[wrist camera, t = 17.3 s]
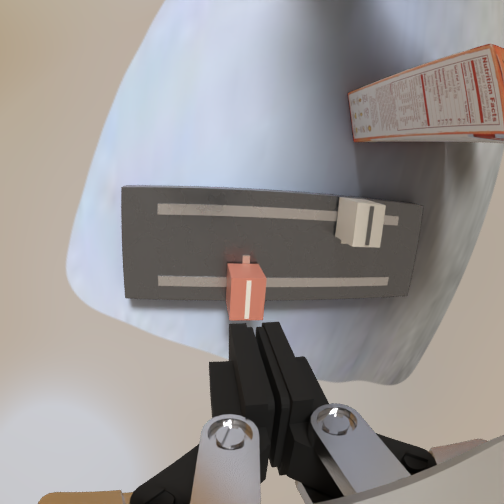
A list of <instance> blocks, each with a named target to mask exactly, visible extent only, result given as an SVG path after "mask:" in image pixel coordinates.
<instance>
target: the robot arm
mask: <svg viewBox="0 0 504 504" xmlns="http://www.w3.org/2000/svg"><path fill="white" fill-rule="evenodd" d="M209 375H210V393H211V408H212V419H211V420H209V421H208V422H207V423H206V424H205V425H204V427H203V429H202V431H201V438H200V444H198V445H197V446H196V447H195V448H193V449H192V450H191V451H189V452H188V453H186V454H185V455H184V456H182V457H181V458H180V459H178V460H177V461H176V462H174V463H173V464H171V465H170V466H169V467H167V468H166V469H164V470H163V471H161V472H160V473H159V474H157V475H156V476H154V477H153V478H151V479H150V480H148V481H147V482H145V483H144V484H142V485H141V486H139V487H138V488H137V489H136V490H135V491H134V492H129V493H122V492H121V490H116V491H99V492H54V493H49V494H47V495H45V496H44V497H42V498H41V500H40V501H39V502H38V504H261V496H260V484H261V483H262V482H263V481H264V480H265V479H266V472H267V466H268V459H269V460H270V464H271V466H272V467H277V468H278V471H279V475H287V476H288V477H290V478H292V479H294V480H295V483H296V487H297V489H298V491H299V493H300V495H301V497H302V498H303V500H304V502H305V504H504V435H502V436H500V437H497V438H494V439H492V440H490V441H486V440H483V439H474V440H470V441H465V442H460V443H455V444H451V445H446V446H440V447H434V448H431V449H430V451H427V450H425V449H422V448H420V447H417V446H413V445H410V444H407V443H404V442H401V441H398V440H394V439H391V438H388V437H385V436H382V435H380V434H377V433H375V432H374V431H373V430H372V428H371V427H370V426H369V425H368V424H367V422H366V421H365V420H364V419H363V418H362V417H361V415H360V414H359V413H358V412H357V411H356V410H354V409H353V408H351V407H349V406H346V405H343V404H333V403H332V404H329V403H328V401H327V399H326V397H325V395H324V393H323V391H322V389H321V387H320V385H319V383H318V381H317V379H316V377H315V375H314V373H313V371H312V369H311V367H310V365H309V363H308V361H307V359H306V358H305V357H295V356H294V354H293V351H292V349H291V347H290V345H289V343H288V340H287V338H286V336H285V334H284V332H283V330H282V327H281V325H280V323H279V322H267V323H262V327H257V328H256V338H255V335H254V331H253V328H252V327H247V325H246V323H242V324H229V361H225V362H209Z"/></svg>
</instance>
